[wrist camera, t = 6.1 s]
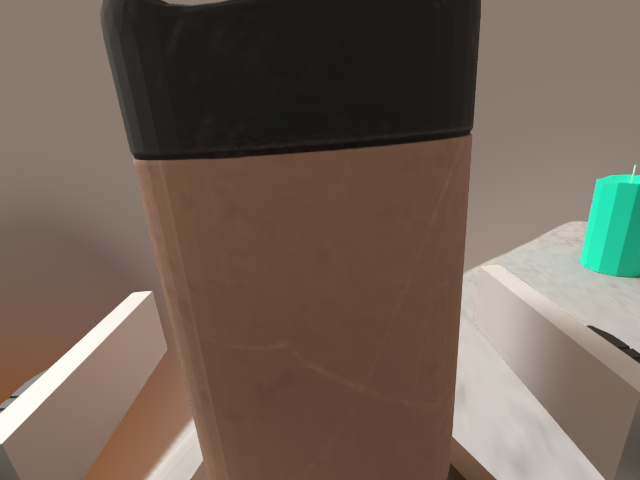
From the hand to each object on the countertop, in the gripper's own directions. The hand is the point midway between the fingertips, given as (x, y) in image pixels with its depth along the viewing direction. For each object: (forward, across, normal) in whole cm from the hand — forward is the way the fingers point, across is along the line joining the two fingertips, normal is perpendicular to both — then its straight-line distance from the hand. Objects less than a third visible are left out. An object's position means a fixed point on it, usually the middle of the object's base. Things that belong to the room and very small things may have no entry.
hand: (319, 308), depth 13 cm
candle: (+23, +35, -11) cm, 44 cm away
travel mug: (-3, 0, -11) cm, 12 cm away
